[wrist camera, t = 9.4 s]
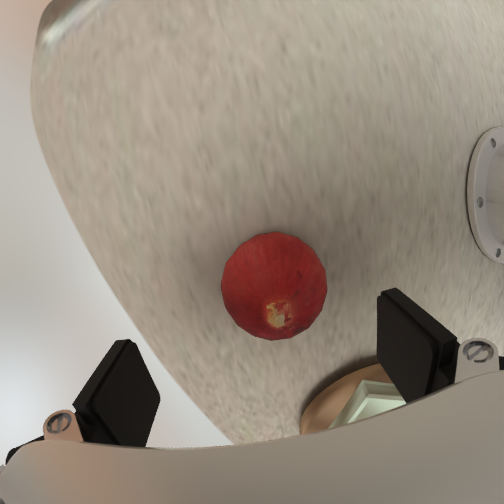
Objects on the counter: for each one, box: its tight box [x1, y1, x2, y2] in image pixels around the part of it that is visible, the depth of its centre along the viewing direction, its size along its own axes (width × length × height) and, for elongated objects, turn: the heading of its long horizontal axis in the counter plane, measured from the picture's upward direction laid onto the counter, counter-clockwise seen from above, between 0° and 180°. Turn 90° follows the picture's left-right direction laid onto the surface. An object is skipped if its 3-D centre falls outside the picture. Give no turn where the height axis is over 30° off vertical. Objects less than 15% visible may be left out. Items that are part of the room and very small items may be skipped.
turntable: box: [300, 363, 406, 435], centre depth 18 cm, size 13×13×8 cm
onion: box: [221, 232, 327, 341], centre depth 15 cm, size 6×6×8 cm
